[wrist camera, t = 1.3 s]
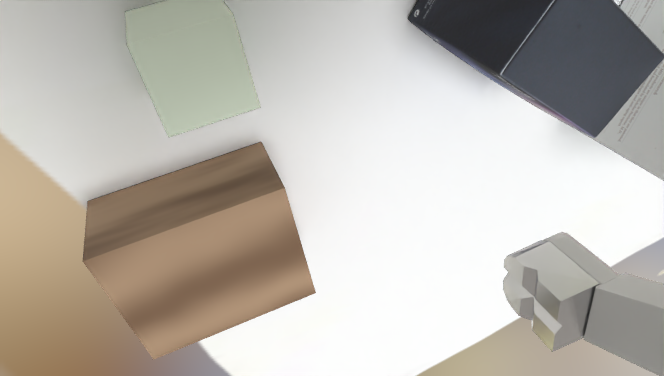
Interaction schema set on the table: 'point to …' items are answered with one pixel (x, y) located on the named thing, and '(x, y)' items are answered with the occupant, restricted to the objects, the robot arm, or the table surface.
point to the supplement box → (642, 100)
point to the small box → (548, 52)
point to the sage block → (191, 62)
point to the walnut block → (197, 249)
